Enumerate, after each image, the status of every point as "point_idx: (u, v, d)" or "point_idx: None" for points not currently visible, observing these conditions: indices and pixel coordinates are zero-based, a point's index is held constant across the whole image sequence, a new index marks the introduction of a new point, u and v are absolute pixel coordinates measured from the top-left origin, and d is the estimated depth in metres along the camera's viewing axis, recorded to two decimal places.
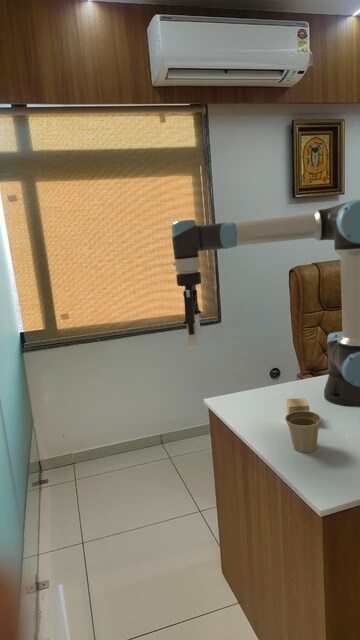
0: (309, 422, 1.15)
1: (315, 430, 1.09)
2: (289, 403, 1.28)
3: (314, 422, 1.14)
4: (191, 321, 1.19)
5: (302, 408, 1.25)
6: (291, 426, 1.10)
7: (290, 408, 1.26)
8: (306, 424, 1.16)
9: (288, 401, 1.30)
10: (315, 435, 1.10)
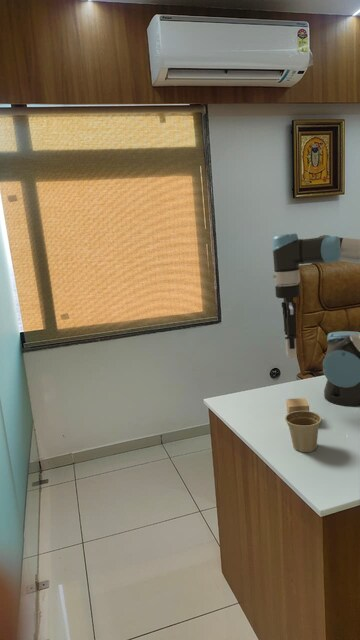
0: (309, 422, 1.15)
1: (315, 430, 1.09)
2: (289, 403, 1.28)
3: (314, 422, 1.14)
4: (294, 337, 1.27)
5: (302, 408, 1.25)
6: (291, 426, 1.10)
7: (290, 408, 1.26)
8: (306, 424, 1.16)
9: (288, 401, 1.30)
10: (315, 435, 1.10)
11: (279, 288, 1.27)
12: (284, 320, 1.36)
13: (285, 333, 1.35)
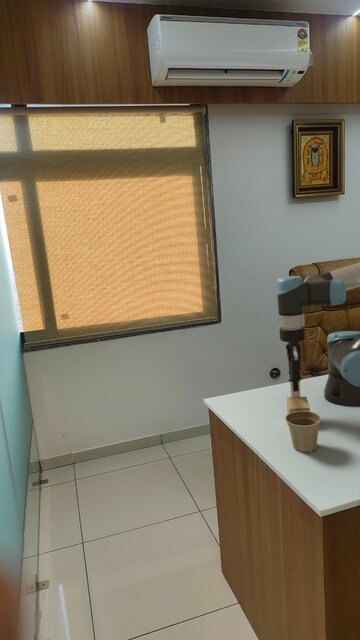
0: (309, 422, 1.15)
1: (315, 430, 1.09)
2: (290, 403, 1.27)
3: (314, 422, 1.14)
4: (298, 381, 1.26)
5: (303, 410, 1.24)
6: (291, 426, 1.10)
7: (291, 410, 1.25)
8: (306, 424, 1.16)
9: (289, 401, 1.28)
10: (315, 435, 1.10)
11: (283, 332, 1.25)
12: (289, 363, 1.32)
13: (290, 377, 1.31)
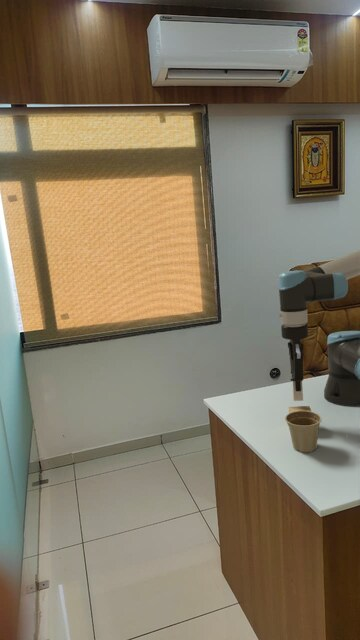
0: (309, 422, 1.15)
1: (315, 430, 1.09)
2: None
3: (314, 422, 1.14)
4: (300, 380, 1.20)
5: None
6: (291, 426, 1.10)
7: None
8: (306, 424, 1.16)
9: None
10: (315, 435, 1.10)
11: (285, 329, 1.19)
12: (291, 361, 1.26)
13: (292, 376, 1.25)
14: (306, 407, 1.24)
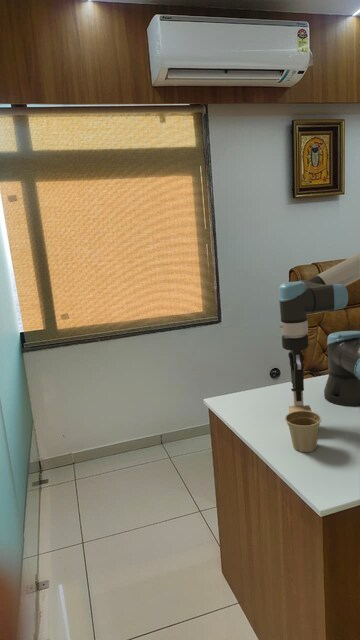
0: (309, 422, 1.15)
1: (315, 430, 1.09)
2: None
3: (314, 422, 1.14)
4: (301, 390, 1.21)
5: None
6: (291, 426, 1.10)
7: None
8: (306, 424, 1.16)
9: None
10: (315, 435, 1.10)
11: (286, 340, 1.20)
12: (291, 371, 1.27)
13: (293, 386, 1.26)
14: (306, 407, 1.24)
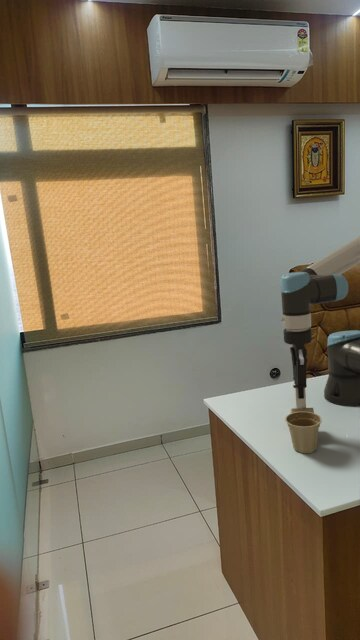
0: (310, 423, 1.15)
1: (315, 431, 1.09)
2: None
3: (314, 423, 1.13)
4: (303, 387, 1.15)
5: None
6: (291, 427, 1.09)
7: None
8: (306, 425, 1.15)
9: None
10: (315, 436, 1.09)
11: (288, 333, 1.13)
12: (293, 367, 1.21)
13: (294, 382, 1.20)
14: (310, 411, 1.17)
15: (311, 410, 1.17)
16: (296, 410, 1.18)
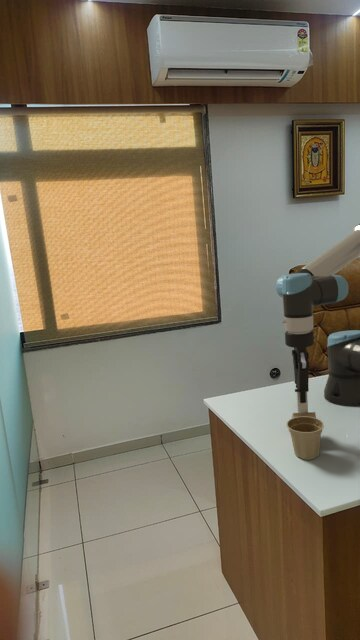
0: (311, 428, 1.11)
1: (318, 437, 1.06)
2: None
3: (316, 428, 1.10)
4: (305, 391, 1.12)
5: None
6: (293, 433, 1.06)
7: None
8: (308, 430, 1.12)
9: None
10: (318, 442, 1.06)
11: (289, 336, 1.10)
12: (295, 370, 1.18)
13: (296, 386, 1.17)
14: (312, 416, 1.14)
15: (313, 415, 1.14)
16: (298, 415, 1.15)
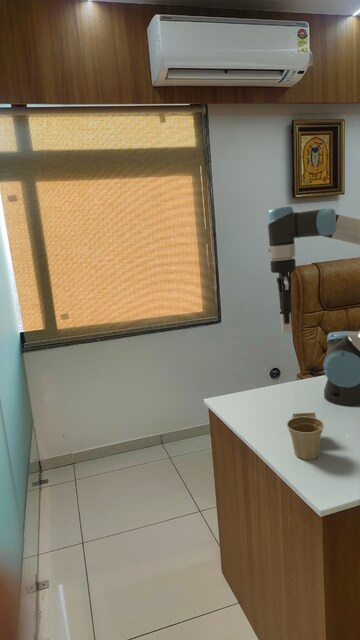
0: (312, 428, 1.11)
1: (318, 437, 1.05)
2: None
3: (316, 428, 1.10)
4: (289, 312, 1.27)
5: None
6: (293, 433, 1.06)
7: None
8: (308, 430, 1.12)
9: None
10: (318, 442, 1.06)
11: (274, 262, 1.26)
12: (280, 297, 1.33)
13: (281, 310, 1.32)
14: (312, 416, 1.14)
15: (313, 415, 1.14)
16: (297, 415, 1.15)
